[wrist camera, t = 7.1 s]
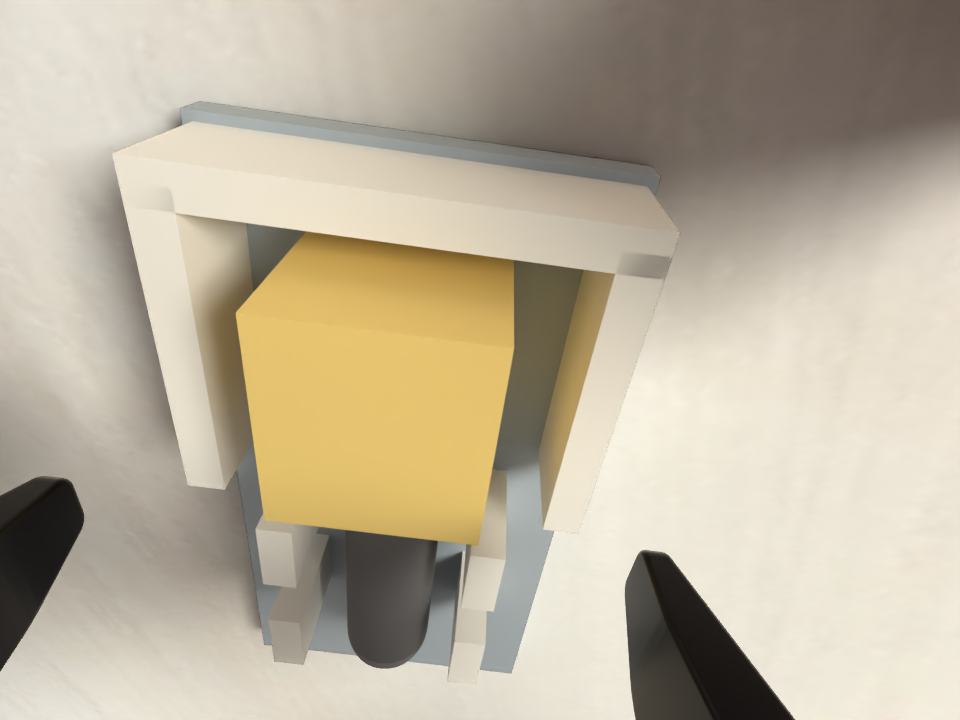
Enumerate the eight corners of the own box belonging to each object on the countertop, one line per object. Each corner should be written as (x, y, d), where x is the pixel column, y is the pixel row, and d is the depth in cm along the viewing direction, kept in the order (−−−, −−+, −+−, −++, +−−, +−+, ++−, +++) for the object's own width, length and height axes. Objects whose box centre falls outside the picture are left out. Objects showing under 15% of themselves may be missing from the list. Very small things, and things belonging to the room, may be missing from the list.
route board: (511, 651, 21) (511, 761, 18) (272, 623, 21) (231, 729, 18) (651, 166, 11) (703, 229, 8) (200, 100, 11) (82, 141, 8)
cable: (453, 616, 19) (440, 752, 15) (333, 603, 19) (294, 737, 15) (513, 244, 11) (514, 348, 8) (317, 218, 11) (235, 312, 8)
